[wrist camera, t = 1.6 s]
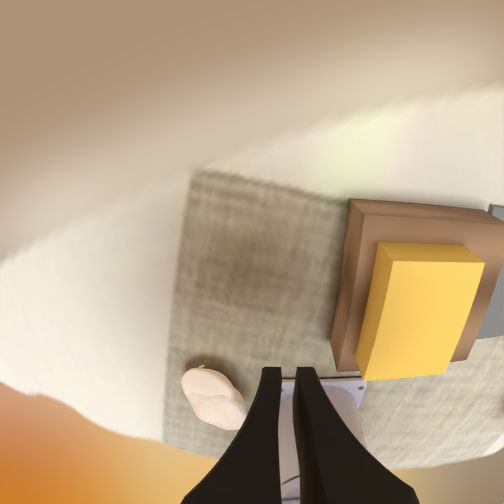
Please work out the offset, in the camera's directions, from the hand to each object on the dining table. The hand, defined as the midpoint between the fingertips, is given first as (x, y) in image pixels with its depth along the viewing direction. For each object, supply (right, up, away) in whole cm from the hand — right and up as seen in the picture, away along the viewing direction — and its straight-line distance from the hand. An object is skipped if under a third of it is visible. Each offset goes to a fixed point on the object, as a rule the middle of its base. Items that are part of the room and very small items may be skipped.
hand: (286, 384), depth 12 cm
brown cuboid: (+10, +3, +9) cm, 14 cm away
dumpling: (-4, -6, +14) cm, 16 cm away
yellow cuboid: (+8, +2, +5) cm, 10 cm away
